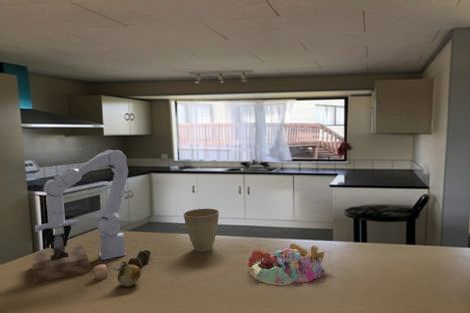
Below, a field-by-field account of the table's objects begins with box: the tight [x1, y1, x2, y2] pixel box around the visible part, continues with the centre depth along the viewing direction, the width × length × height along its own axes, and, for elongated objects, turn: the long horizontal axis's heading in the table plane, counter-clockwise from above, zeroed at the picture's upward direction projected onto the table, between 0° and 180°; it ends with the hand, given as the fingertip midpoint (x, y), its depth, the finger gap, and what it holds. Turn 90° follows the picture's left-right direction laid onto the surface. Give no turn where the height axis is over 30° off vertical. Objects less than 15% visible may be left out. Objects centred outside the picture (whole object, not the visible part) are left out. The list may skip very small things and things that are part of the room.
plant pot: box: [183, 208, 220, 253], centre depth 152 cm, size 15×15×16 cm
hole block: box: [32, 245, 90, 284], centre depth 137 cm, size 18×18×5 cm
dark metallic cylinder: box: [51, 232, 66, 257], centre depth 136 cm, size 4×4×8 cm
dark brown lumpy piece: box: [127, 249, 151, 271], centre depth 137 cm, size 6×5×15 cm
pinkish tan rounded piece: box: [93, 263, 108, 281], centre depth 127 cm, size 4×4×4 cm
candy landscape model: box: [247, 242, 325, 287], centre depth 125 cm, size 25×24×9 cm
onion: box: [112, 261, 142, 288], centre depth 120 cm, size 8×8×8 cm
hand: (58, 246), depth 136 cm, fingers closed on dark metallic cylinder, 4 cm apart
